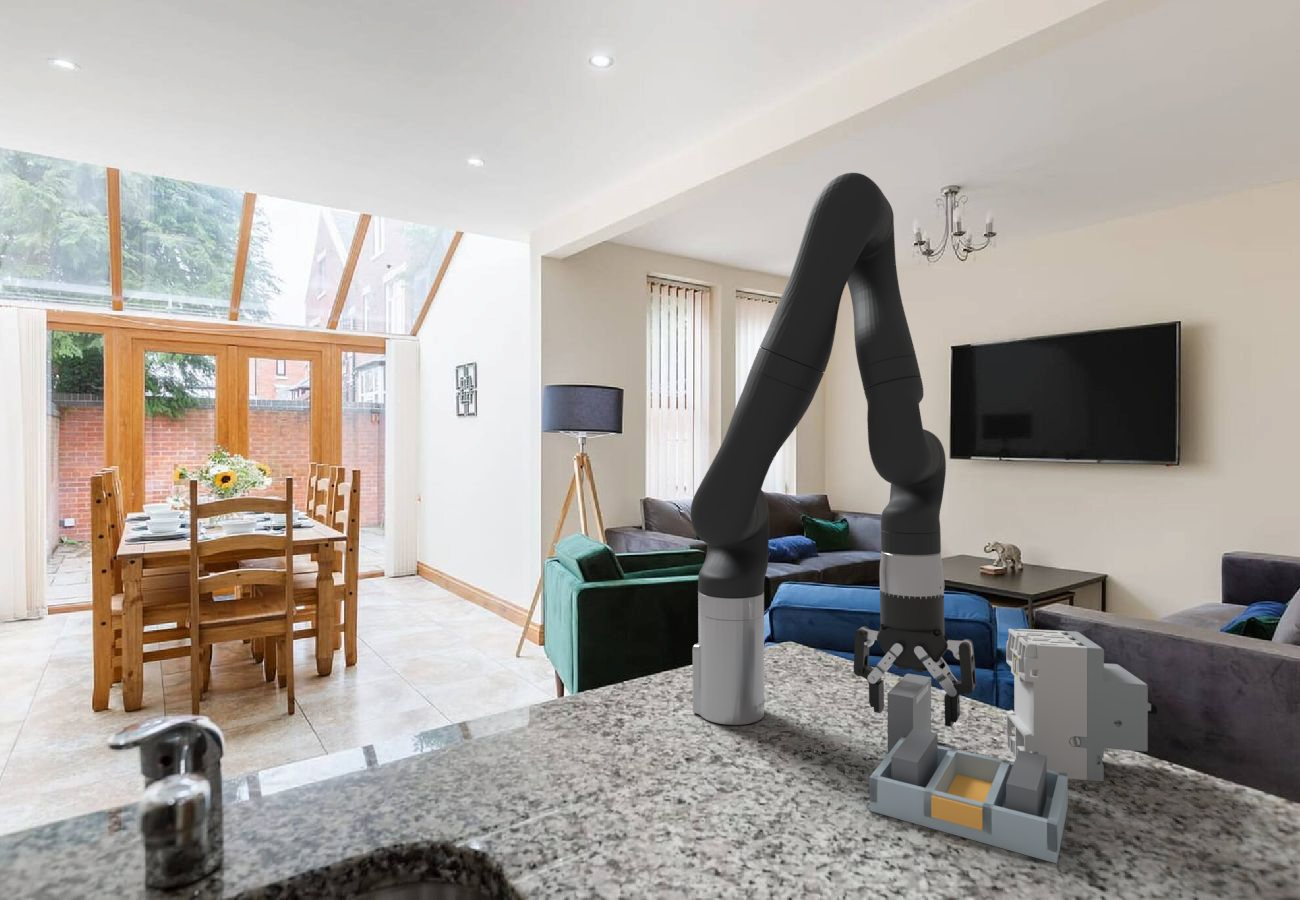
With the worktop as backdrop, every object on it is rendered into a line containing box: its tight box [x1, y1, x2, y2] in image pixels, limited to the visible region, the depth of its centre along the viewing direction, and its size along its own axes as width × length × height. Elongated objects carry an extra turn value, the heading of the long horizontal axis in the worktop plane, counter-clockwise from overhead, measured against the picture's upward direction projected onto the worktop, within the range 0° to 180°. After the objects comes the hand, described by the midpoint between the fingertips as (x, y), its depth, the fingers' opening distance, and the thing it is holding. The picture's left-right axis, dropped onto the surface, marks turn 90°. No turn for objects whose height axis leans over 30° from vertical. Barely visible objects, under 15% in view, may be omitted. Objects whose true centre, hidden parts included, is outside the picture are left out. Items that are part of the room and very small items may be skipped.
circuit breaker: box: [1005, 628, 1158, 782], centre depth 85 cm, size 8×14×15 cm, turn 78°
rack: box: [868, 728, 1069, 865], centre depth 75 cm, size 17×12×6 cm
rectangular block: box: [886, 673, 932, 754], centre depth 90 cm, size 3×9×8 cm, turn 146°
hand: (913, 717), depth 90 cm, fingers open, 8 cm apart
